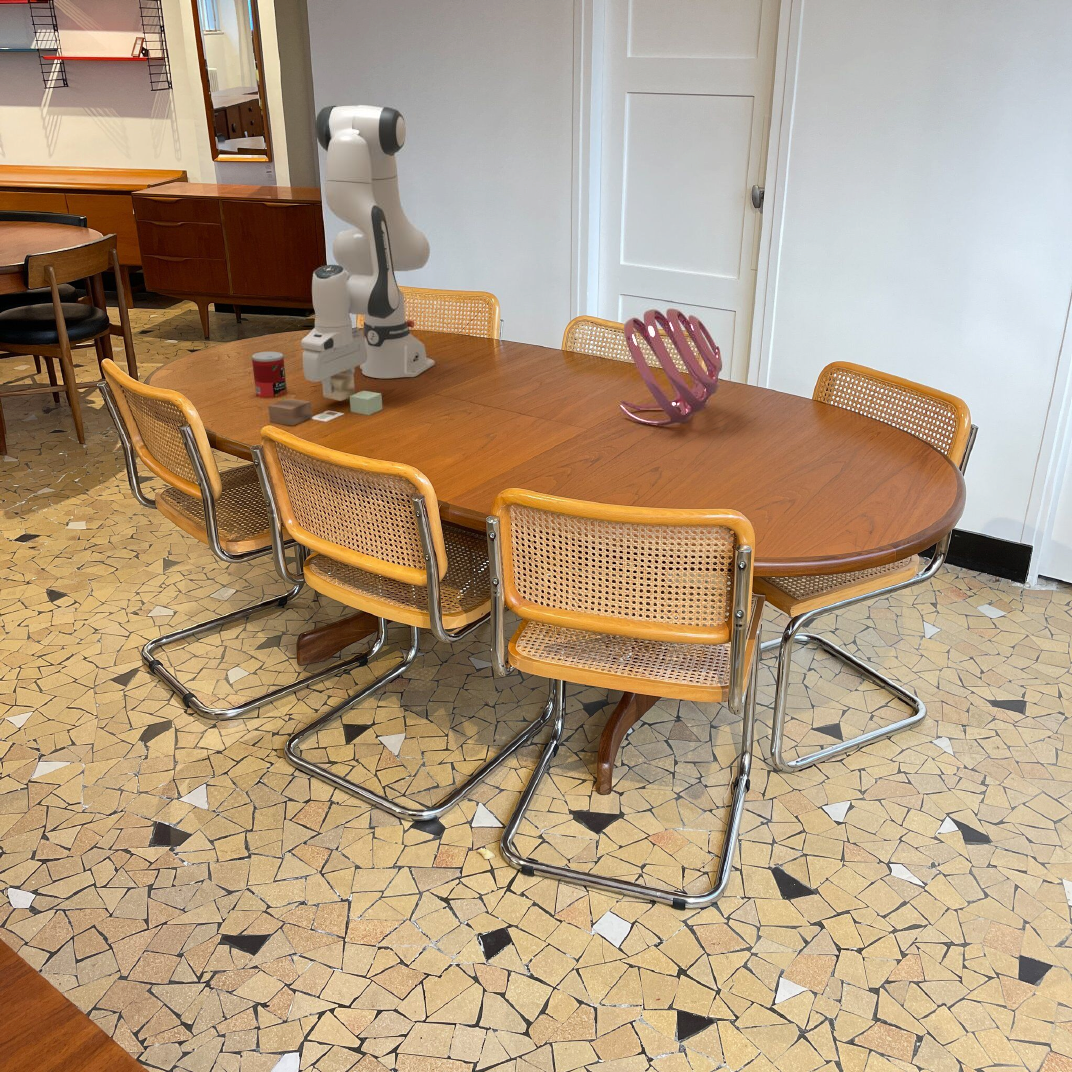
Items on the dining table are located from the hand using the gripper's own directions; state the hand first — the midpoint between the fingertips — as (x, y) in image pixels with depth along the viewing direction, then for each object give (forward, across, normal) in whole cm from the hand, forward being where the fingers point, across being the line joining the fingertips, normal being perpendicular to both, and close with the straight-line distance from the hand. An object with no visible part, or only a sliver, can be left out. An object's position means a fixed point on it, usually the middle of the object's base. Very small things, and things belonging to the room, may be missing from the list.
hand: (338, 389), depth 250 cm
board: (+4, +14, -2) cm, 15 cm away
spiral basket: (+5, -35, +74) cm, 82 cm away
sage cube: (+5, +1, +9) cm, 10 cm away
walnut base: (+3, +16, -2) cm, 16 cm away
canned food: (+5, +2, -21) cm, 22 cm away
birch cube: (+2, 0, 0) cm, 2 cm away
